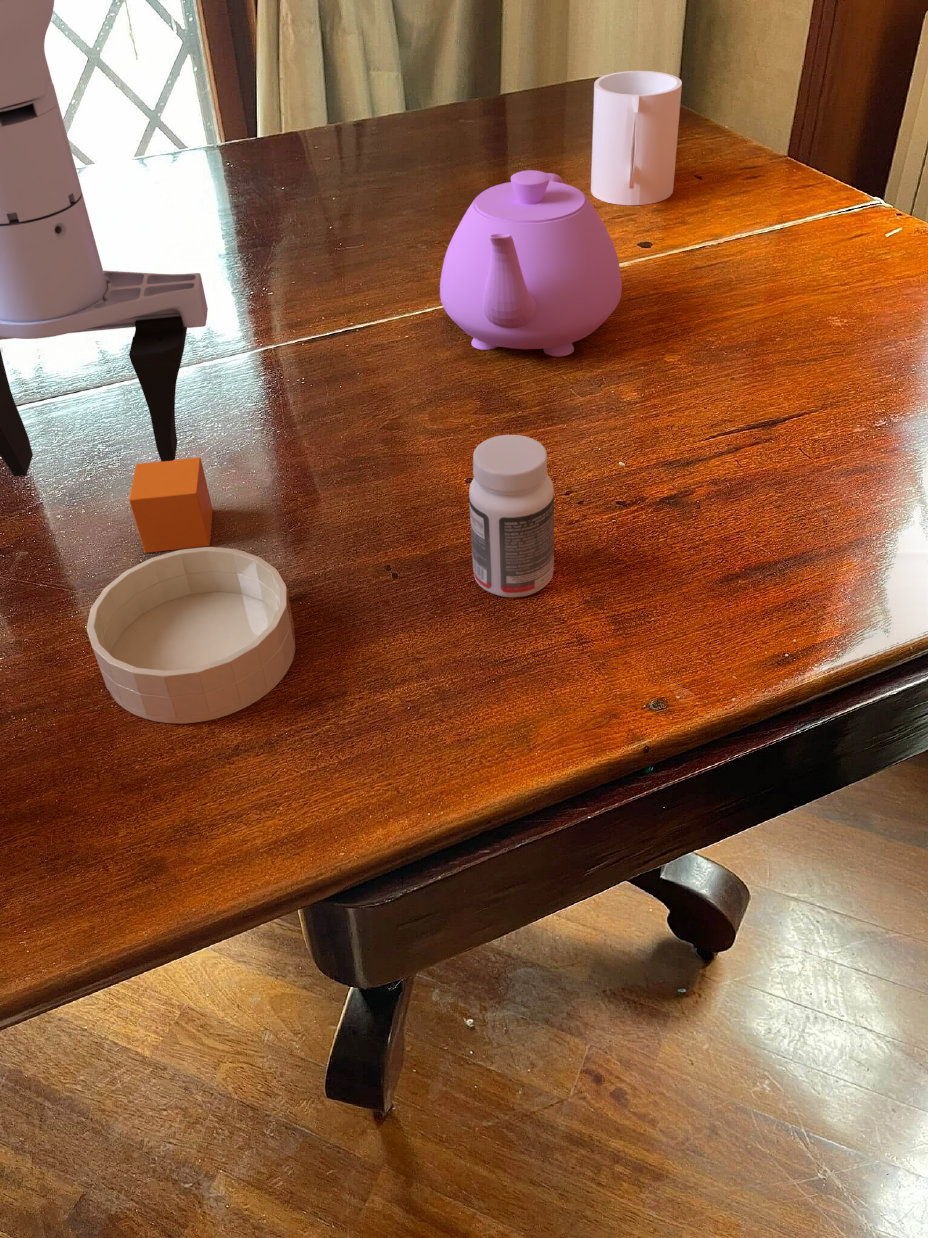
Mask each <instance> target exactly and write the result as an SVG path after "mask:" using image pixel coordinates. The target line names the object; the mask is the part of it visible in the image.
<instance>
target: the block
mask: <svg viewBox="0 0 928 1238" xmlns="http://www.w3.org/2000/svg"><path fill="white" fill-rule="evenodd" d="M206 478H207V477H206V473H205V471H204V467H203V462H202V458H201V457H200V456H199V457H191V458H189V457H188V458H180V459H175V460H173V461H164V462H161V460H160V461H152V462H141V463H136V464H135V467H134V472H133V478H132V484H131V488H130V494H129V498H128V499H129V500H128V501H129V505H130V508H131V511H132V514H133V518H134V521H135V525H136V528H137V531H138V535H139V538H140V542H141V546H142V548H143V551H144V553H145V554H148V553H157V552H166V551H177V550H183V549H192V548H201V547H211V546H210V545H211V534H212V525H213V524H212V523H213V513H214V512H213V510H214V508H213V504H212V500H211V495H210V490H209V488H208V483H207V479H206Z"/></svg>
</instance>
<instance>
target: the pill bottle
mask: <svg viewBox="0 0 928 1238" xmlns="http://www.w3.org/2000/svg"><path fill="white" fill-rule="evenodd" d="M547 453H548V452H547V449H546V447H545V446H544V445H543V444H542V443H541V442H540V441H538V440H536V439H534V438H532V437H529V436H525V435H521V434H502V435H496V436H493V437H490V438H487V439H485V440H483V441H482V442H481V443H479V444H477V446H476V447H475V448H474V451H473V454H472V474H473V479H472V480H471V482H470V485H469V489H468V503H469V518H470V520H469V521H470V522H469V523H470V534H471V535H470V536H471V538H470V539H471V556H472V572H473V577H474V579H475V582H476V584H478V586H479V587H480V588H482V589H483V590H484V591H486V592H488V593H490V594H493V595H495V596H499V597H503V598H511V599H513V598H514V599H515V598H524V597H528V596H531V595H533V594H535V593H537V592H539V591H541V590H542V589H544V588H545V587H547V585H548V584H549V583H550V582H551V581H552V578H553V576H554V570H555V569H554V568H555V557H554V556H555V489H554V483H553V481H552V478H551V477H550V475H548V454H547Z"/></svg>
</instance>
